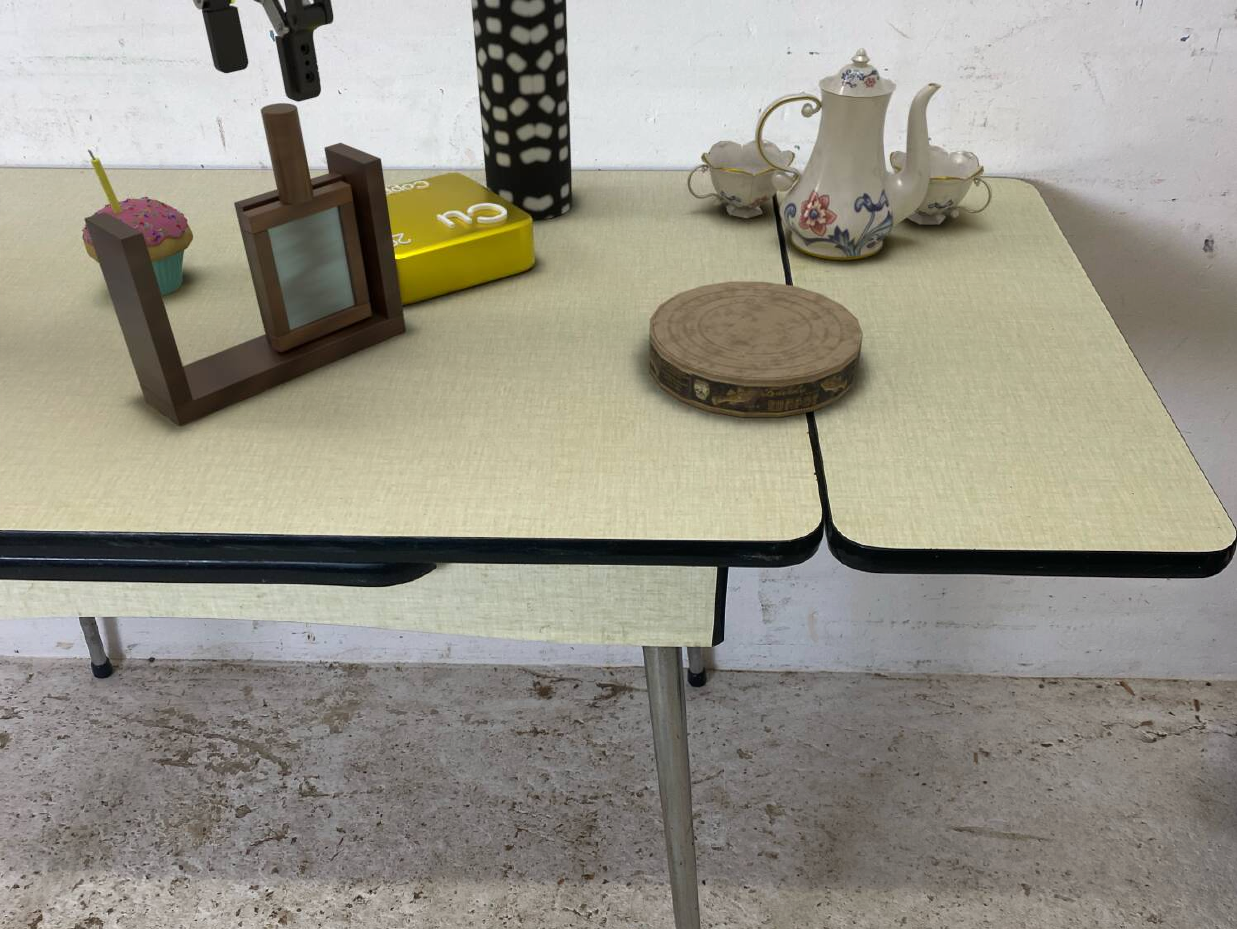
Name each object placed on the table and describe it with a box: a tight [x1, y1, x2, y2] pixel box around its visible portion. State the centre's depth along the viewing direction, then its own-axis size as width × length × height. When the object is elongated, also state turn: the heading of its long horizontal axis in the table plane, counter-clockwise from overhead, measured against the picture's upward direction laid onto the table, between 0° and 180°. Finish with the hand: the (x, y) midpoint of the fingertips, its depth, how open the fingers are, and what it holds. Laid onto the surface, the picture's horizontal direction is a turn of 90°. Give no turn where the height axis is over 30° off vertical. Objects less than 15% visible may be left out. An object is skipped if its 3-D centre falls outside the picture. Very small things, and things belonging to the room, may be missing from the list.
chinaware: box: [686, 47, 993, 261], centre depth 97 cm, size 28×17×17 cm, turn 89°
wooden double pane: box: [84, 142, 407, 427], centre depth 79 cm, size 20×5×14 cm, turn 136°
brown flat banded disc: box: [648, 281, 864, 418], centre depth 82 cm, size 16×16×3 cm
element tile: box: [385, 172, 536, 306], centre depth 96 cm, size 15×15×5 cm
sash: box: [241, 102, 372, 352], centre depth 78 cm, size 8×2×16 cm, turn 136°
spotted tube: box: [470, 0, 573, 221], centre depth 100 cm, size 8×8×20 cm
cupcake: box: [81, 149, 194, 297], centre depth 89 cm, size 9×8×12 cm
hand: (267, 84), depth 71 cm, fingers open, 8 cm apart
